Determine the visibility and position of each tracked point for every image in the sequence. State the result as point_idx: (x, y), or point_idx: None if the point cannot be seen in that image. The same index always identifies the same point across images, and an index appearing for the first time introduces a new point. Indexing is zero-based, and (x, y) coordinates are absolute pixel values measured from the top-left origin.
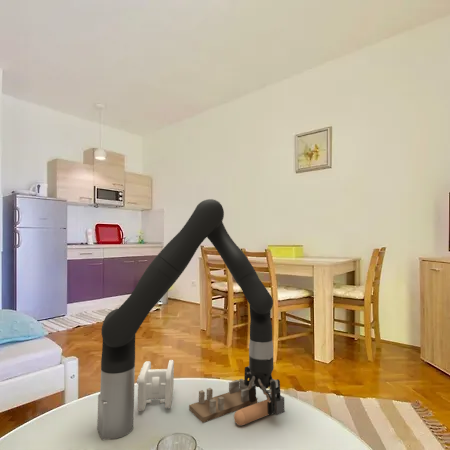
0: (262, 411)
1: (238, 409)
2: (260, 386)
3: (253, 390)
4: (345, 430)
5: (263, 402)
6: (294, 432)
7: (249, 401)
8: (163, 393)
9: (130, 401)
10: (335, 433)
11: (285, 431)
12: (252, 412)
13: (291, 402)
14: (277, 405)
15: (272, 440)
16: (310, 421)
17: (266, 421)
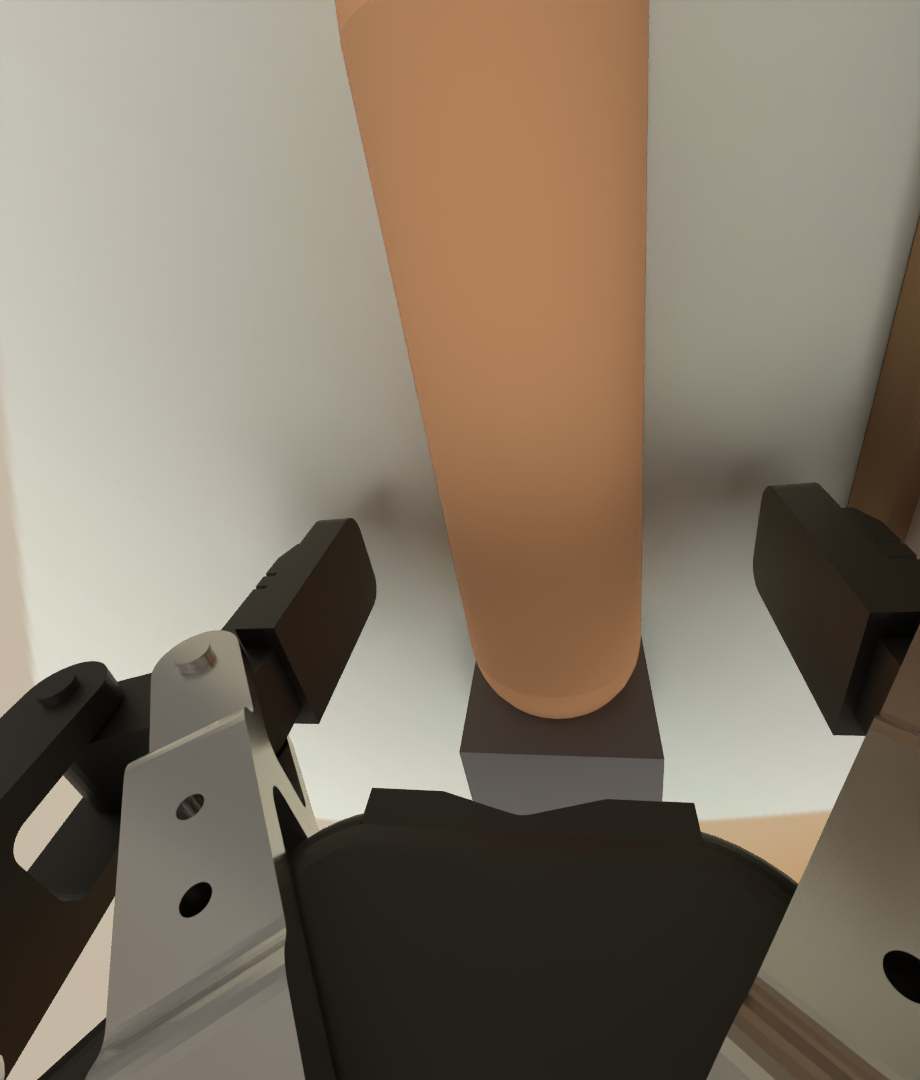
0: (439, 492)
1: (911, 256)
2: (414, 871)
3: (845, 674)
4: None
5: (529, 608)
6: (188, 579)
7: (884, 514)
8: None
9: None
10: None
11: (212, 527)
12: (407, 299)
13: None
14: (471, 701)
15: (75, 321)
16: (303, 741)
17: (421, 469)
